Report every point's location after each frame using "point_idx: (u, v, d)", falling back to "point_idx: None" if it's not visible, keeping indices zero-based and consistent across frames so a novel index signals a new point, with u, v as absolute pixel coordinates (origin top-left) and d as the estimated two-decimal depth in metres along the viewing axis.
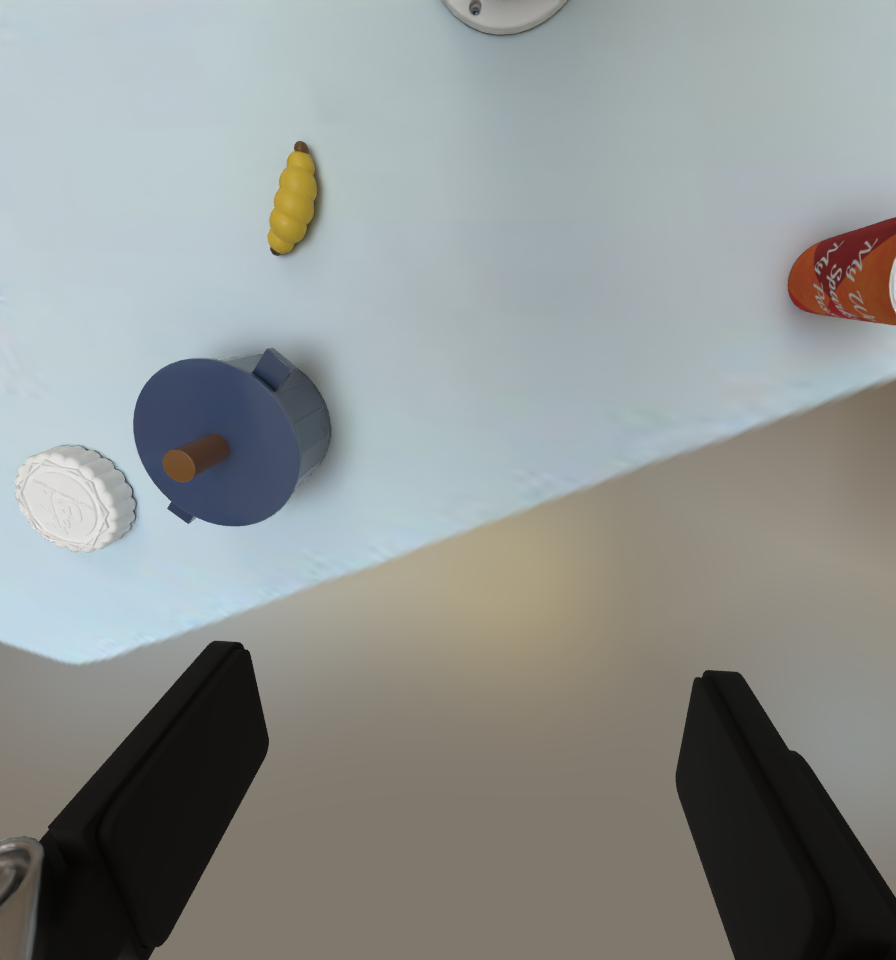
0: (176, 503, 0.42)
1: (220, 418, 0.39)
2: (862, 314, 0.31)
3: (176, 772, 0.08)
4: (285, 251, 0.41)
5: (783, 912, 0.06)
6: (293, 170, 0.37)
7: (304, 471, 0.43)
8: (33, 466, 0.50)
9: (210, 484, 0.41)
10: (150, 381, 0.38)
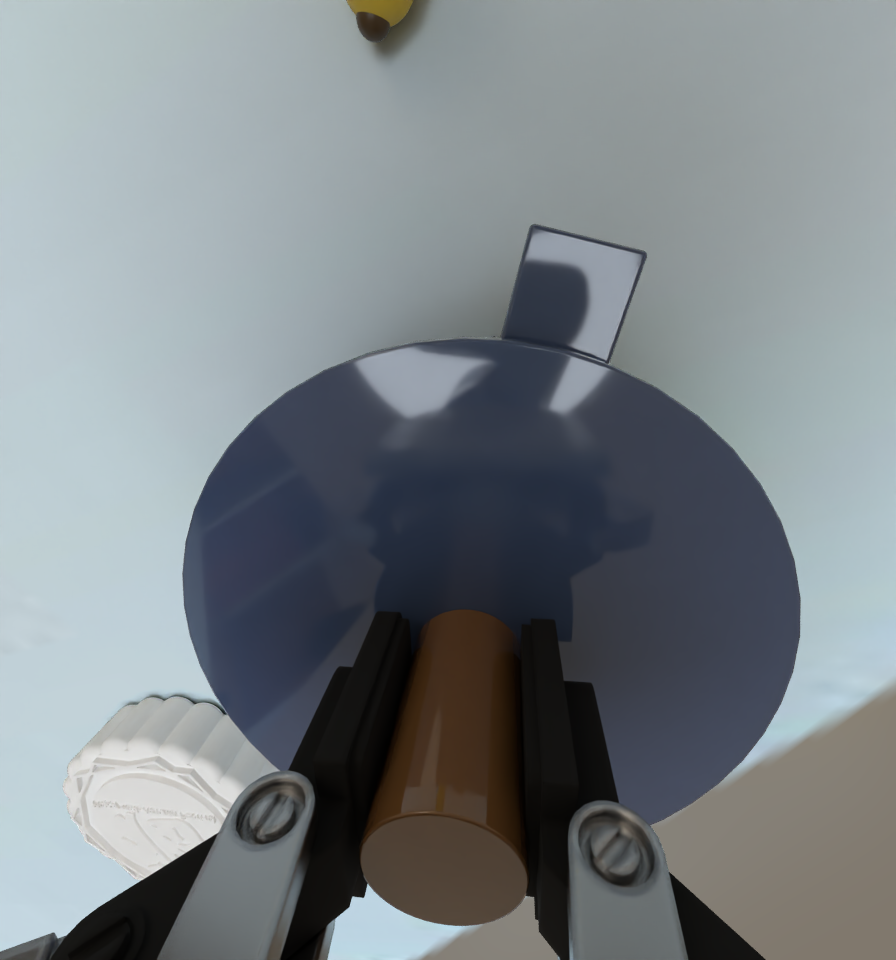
0: None
1: (455, 554, 0.11)
2: None
3: (384, 722, 0.09)
4: None
5: (525, 790, 0.08)
6: None
7: None
8: (83, 777, 0.25)
9: None
10: (194, 532, 0.11)
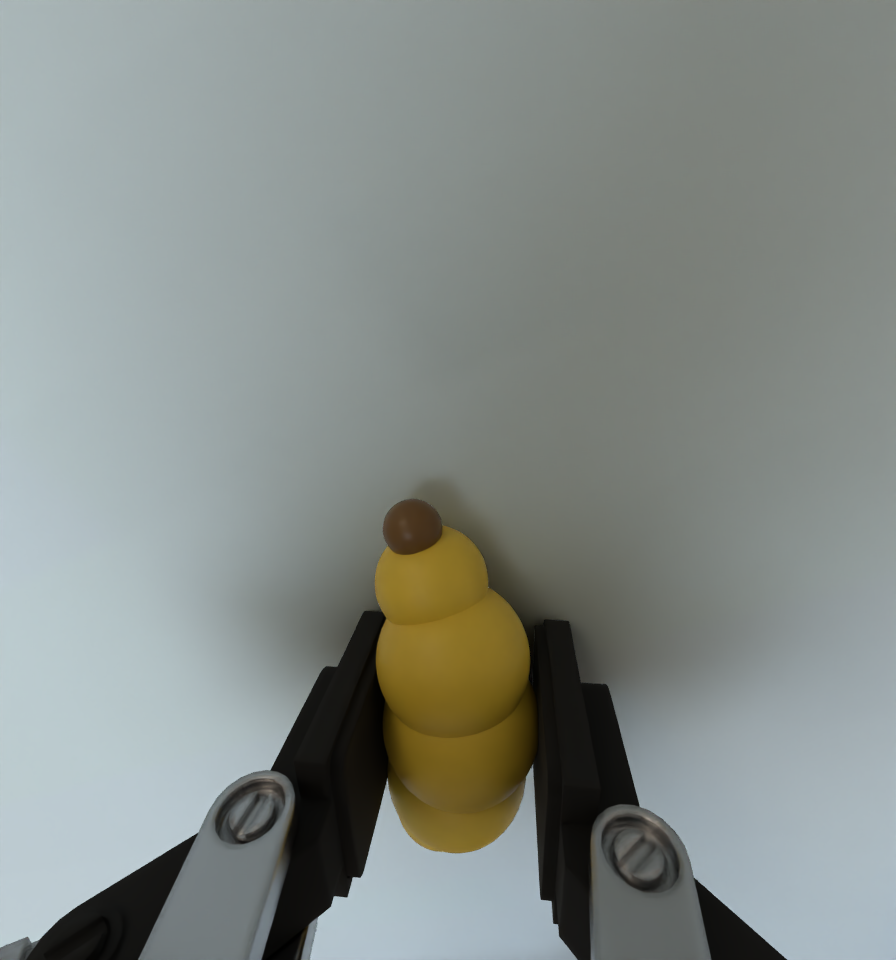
0: None
1: None
2: None
3: (368, 722, 0.09)
4: None
5: (544, 794, 0.07)
6: (433, 661, 0.08)
7: None
8: None
9: None
10: None
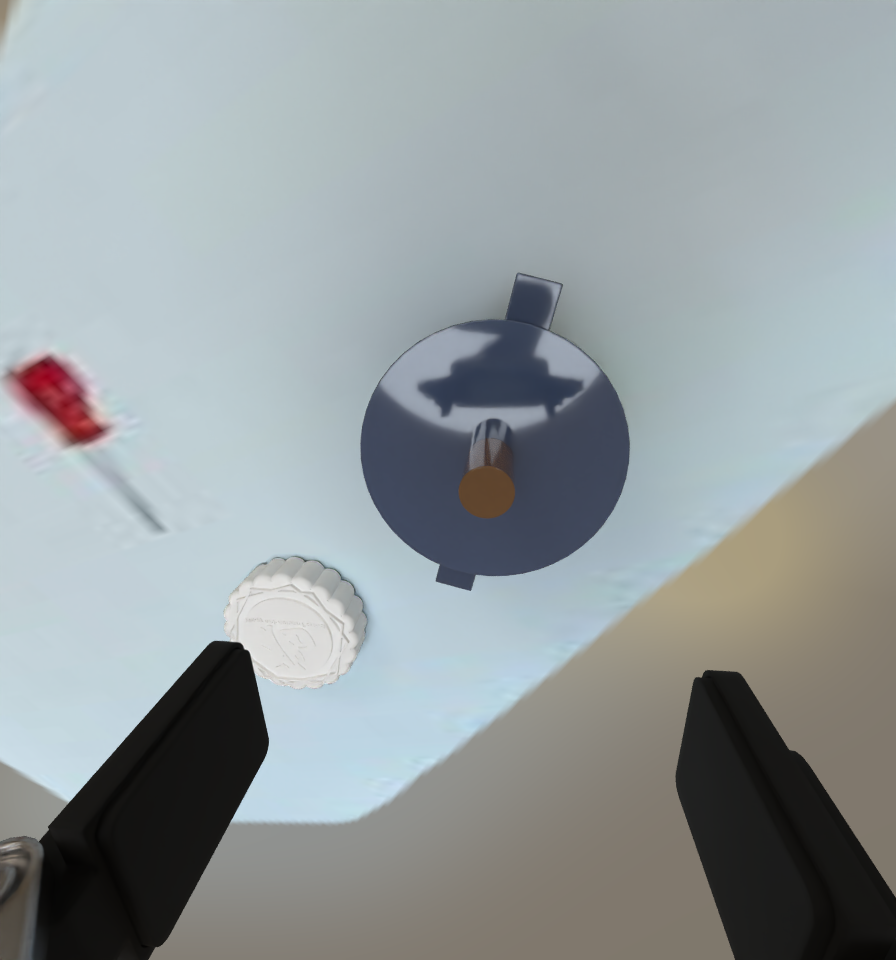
0: (455, 567, 0.29)
1: (486, 412, 0.25)
2: None
3: (176, 772, 0.08)
4: None
5: (783, 912, 0.06)
6: None
7: None
8: (239, 603, 0.39)
9: (496, 518, 0.27)
10: (371, 405, 0.26)
